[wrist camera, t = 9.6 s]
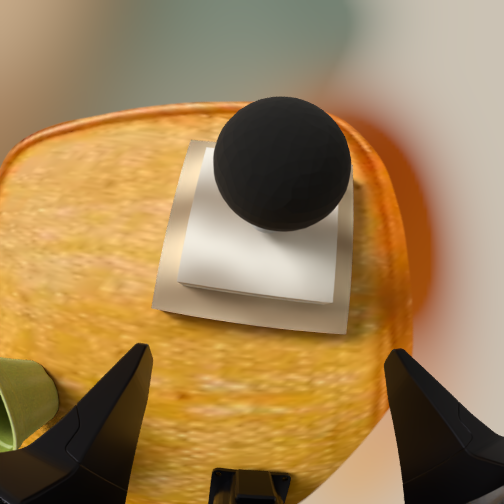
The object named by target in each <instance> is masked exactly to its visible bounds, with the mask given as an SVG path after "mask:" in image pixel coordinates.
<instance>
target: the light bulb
mask: <svg viewBox="0 0 504 504" xmlns="http://www.w3.org/2000/svg"><path fill="white" fill-rule="evenodd" d="M213 169H214V177H215V182H216V184H217V187H218V190H219V192H220V194H221V196H222V198H223V199H224V201H225V202H226V203H227V205H228V206H229V207H230V208H231V209H232V210H233V211H234V212H235V213H236V214H237V215H238V216H239V217H241V218H242V219H243V220H245V221H247V222H248V223H250V224H251V225H252V226H253V227H254V228H255V229H256V230H258V231H260V232H263V233H274V232H277V231H279V232H289V231H296V230H300V229H304V228H308V227H310V226H312V225H314V224H316V223H318V222H319V221H321V220H322V219H324V218H325V217H327V216H328V215H329V214H330V213H331V212H332V211H333V210H334V209H335V208H336V206H337V205H338V204H339V202H340V201H341V199H342V198H343V196H344V194H345V192H346V190H347V187H348V184H349V179H350V173H351V157H350V151H349V148H348V144H347V141H346V138H345V136H344V134H343V133H342V131H341V130H340V128H339V126H338V125H337V124H336V122H335V121H334V120H333V119H332V118H331V117H330V116H329V115H328V114H327V113H326V112H324V111H323V110H322V109H320V108H319V107H317V106H315V105H314V104H311V103H309V102H307V101H304V100H301V99H298V98H292V97H271V98H265V99H261V100H258V101H255V102H253V103H250V104H249V105H247V106H245V107H244V108H242V109H240V110H239V111H238V112H237V113H236V114H235V115H234V116H233V117H232V118H231V119H230V120H229V121H228V122H227V123H226V124H225V126H224V127H223V129H222V131H221V133H220V135H219V137H218V140H217V142H216V145H215V149H214V155H213Z"/></svg>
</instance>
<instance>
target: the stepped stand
mask: <svg viewBox="0 0 504 504" xmlns="http://www.w3.org/2000/svg"><path fill="white" fill-rule="evenodd" d="M215 145H216V142H209V141H197V140H191V141H190V144H189V147H188V150H187V154H186V157H185V161H184V164H183V167H182V171H181V175H180V178H179V182H178V186H177V189H176V193H175V197H174V201H173V205H172V209H171V213H170V217H169V222H168V226H167V230H166V235H165V239H164V244H163V249H162V253H161V258H160V263H159V269H158V274H157V279H156V285H155V290H154V296H153V302H152V308H153V309H158V310H163V311H168V312H173V313H179V314H184V315H190V316H195V317H201V318H207V319H213V320H220V321H226V322H233V323H240V324H247V325H255V326H263V327H271V328H280V329H289V330H298V331H309V332H320V333H333V334H346V331H347V322H348V312H349V301H350V288H351V274H352V254H353V165H351V173H350V179H349V184H348V187H347V190H346V192H345V194H344V196H343V198H342V199H341V201H340V202H339V204H338V205H337V206H336V208H335V209H334V210H333V211H332V212H331V213H330V214H329V215H328V216H327V217H325V218H324V219H322V220H321V221H319V222H318V223H316V224H314V225H312V226H310V227H308V228H304V229H300V230H296V231H289V232H279V231H277V232H274V233H263V232H260V231H258V230H256V229H255V228H254V227H253V226H252V225H251V224H250V223H248V222H247V221H245V220H243V219H242V218H241V217H239V216H238V215H237V214H236V213H235V212H234V211H233V210H232V209H231V208H230V207H229V206H228V205H227V203H226V202H225V201H224V199H223V198H222V196H221V194H220V192H219V190H218V187H217V184H216V182H215V177H214V169H213V155H214V149H215Z"/></svg>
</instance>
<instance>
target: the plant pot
mask: <svg viewBox="0 0 504 504" xmlns="http://www.w3.org/2000/svg"><path fill="white" fill-rule="evenodd" d="M58 406H59V400H58V394H57V390H56V387H55V385H54V382H53V380H52V379H51V378H50V377H49V376H48V375H47V373H46V372H45V370H44V368H43V367H42V366H41V365H40V364H38V363H36V362H34V361H31V360H20V359H10V358H1V357H0V452H6V451H12V450H18V449H19V448H20V446H21V445H22V443H23V441H24V440H25V439H27V438H28V437H29V436H30V435H32V434H33V433H34V432H35V431H37V430H38V429H39V428H40V427H42V426H43V425H44V424H46V423H47V422H48V421H50V420H51V419H52V418H53V417H54V416H55V414H56V412H57V411H58Z"/></svg>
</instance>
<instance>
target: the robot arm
mask: <svg viewBox="0 0 504 504" xmlns="http://www.w3.org/2000/svg"><path fill="white" fill-rule="evenodd" d="M152 366H153V357H152V354H151V351H150V347H149V345H148V344H144V343H137V344H135V345H134V346H133V347H132V348H131V349H130V350H129V351H128V352H127V353H126V354H125V355H124V356H123V357H122V358H121V359H120V360H119V361H118V362H117V363H116V364H115V365H114V366H113V367H112V368H111V369H110V370H109V371H108V372H107V373H106V374H105V375H104V376H103V377H102V378H101V379H100V380H99V381H98V382H97V384H96V385H95V386H94V387H93V388H92V389H91V390H90V391H89V392H88V393H87V394H86V395H85V396H84V397H83V398H82V399H81V400H80V401H79V402H78V403H77V405H75V406H74V407H73V408H72V409H71V410H70V411H69V412H68V413H67V414H66V415H65V416H64V417H63V418H62V419H61V420H60V421H59V422H57V423H56V424H55V425H54V426H53V427H52V428H50V429H49V430H48V431H47V432H45V433H44V434H43V435H42V436H40V437H39V438H38V439H37V440H35V441H34V442H33V443H31V444H30V445H28V446H27V447H24V448H22V449H18V450H12V451H6V452H0V504H125V502H126V496H127V490H128V484H129V479H130V474H131V469H132V464H133V460H134V455H135V450H136V446H137V442H138V437H139V433H140V429H141V425H142V420H143V416H144V412H145V408H146V405H147V400H148V394H149V386H150V379H151V372H152ZM384 371H385V378H386V386H387V395H388V401H389V406H390V411H391V415H392V420H393V425H394V430H395V436H396V441H397V447H398V453H399V459H400V466H401V474H402V481H403V491H404V501H405V504H504V437H502V436H500V435H498V434H496V433H494V432H493V431H492V430H491V429H490V428H488V427H487V426H486V425H485V424H483V423H482V422H481V421H480V420H478V419H477V418H476V417H475V416H474V415H473V414H471V413H470V412H469V411H468V410H467V409H466V408H465V407H464V406H463V405H462V404H461V403H460V402H458V400H457V399H456V398H455V397H454V396H452V394H450V393H449V392H448V391H447V390H446V389H445V388H444V387H443V386H442V385H441V384H440V383H439V382H438V381H437V380H436V379H435V378H434V377H433V376H432V375H431V374H429V373H428V372H427V371H426V370H425V369H424V368H423V367H422V366H421V365H420V364H419V363H418V362H417V361H416V360H415V359H413V358H412V357H411V356H410V355H409V354H408V353H407V352H406V351H405V350H404V349H402V348H399V349H393V350H392V351H391V353H390V354H389V356H388V357H387V359H386V361H385V363H384ZM216 472H219V473H221V474H216ZM284 477H287V478H286V479H282V478H284ZM290 481H291V477H290V475H289V474H288V473H272V472H268V471H253V470H241V469H239V470H232V469H224V468H215V469H213V471H212V477H211V485H210V494H209V502H208V504H284V503H285V499H286V496H287V492H288V488H289V485H290Z"/></svg>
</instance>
